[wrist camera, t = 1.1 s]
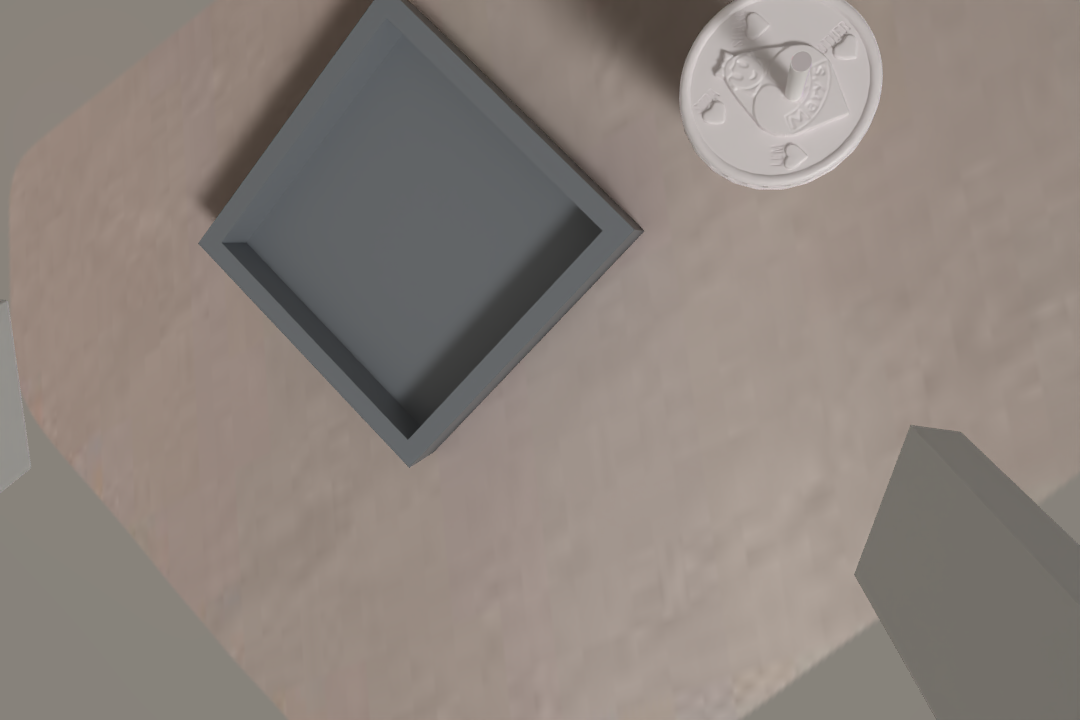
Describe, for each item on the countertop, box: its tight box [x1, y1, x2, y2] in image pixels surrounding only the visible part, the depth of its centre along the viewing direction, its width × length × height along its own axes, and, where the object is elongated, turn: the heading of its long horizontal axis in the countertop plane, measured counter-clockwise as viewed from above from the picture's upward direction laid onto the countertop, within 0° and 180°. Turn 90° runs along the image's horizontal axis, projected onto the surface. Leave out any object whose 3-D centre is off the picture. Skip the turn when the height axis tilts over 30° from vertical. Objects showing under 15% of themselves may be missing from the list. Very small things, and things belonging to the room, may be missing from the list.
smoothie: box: [679, 0, 883, 189], centre depth 27 cm, size 6×6×14 cm
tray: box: [198, 0, 644, 468], centre depth 37 cm, size 16×16×3 cm
